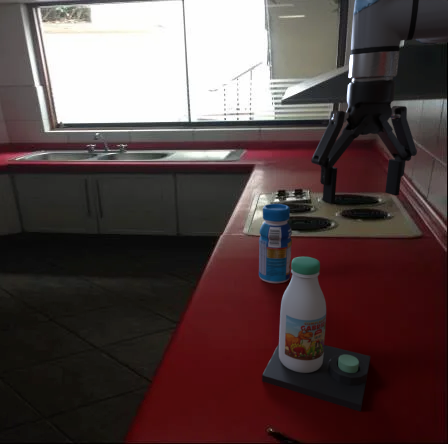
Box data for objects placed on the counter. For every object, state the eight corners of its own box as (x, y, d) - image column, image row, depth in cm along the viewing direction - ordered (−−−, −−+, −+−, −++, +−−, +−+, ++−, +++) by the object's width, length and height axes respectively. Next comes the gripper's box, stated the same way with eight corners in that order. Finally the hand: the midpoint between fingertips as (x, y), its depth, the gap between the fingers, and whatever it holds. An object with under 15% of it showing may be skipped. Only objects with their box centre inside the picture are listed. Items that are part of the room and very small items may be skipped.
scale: (370, 362, 77) (371, 348, 76) (361, 412, 66) (362, 396, 65) (283, 340, 85) (283, 327, 85) (261, 381, 74) (262, 367, 73)
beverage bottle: (251, 276, 114) (252, 206, 108) (273, 268, 119) (275, 200, 113) (274, 287, 108) (277, 213, 101) (297, 278, 112) (300, 207, 106)
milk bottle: (270, 360, 77) (272, 261, 71) (294, 343, 82) (298, 248, 76) (307, 380, 72) (314, 274, 66) (330, 360, 76) (339, 260, 70)
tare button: (359, 364, 73) (360, 357, 72) (356, 375, 70) (357, 367, 70) (339, 359, 75) (340, 352, 74) (336, 370, 72) (337, 362, 71)
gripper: (416, 76, 79) (402, 186, 85) (295, 84, 74) (290, 199, 80) (450, 75, 72) (433, 195, 78) (319, 83, 67) (312, 210, 73)
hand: (360, 197), depth 79 cm, fingers open, 13 cm apart
